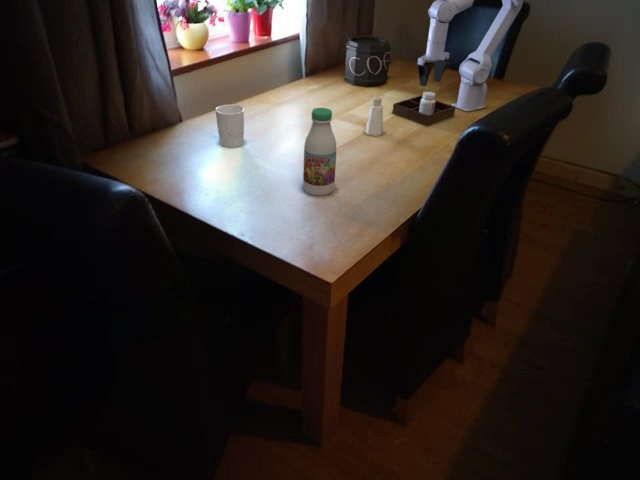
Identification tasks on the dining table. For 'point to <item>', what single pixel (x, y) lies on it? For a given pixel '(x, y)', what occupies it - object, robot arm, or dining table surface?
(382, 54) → the coffee canister
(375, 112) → the pepper shaker
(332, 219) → the dining table surface
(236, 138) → the white cup
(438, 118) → the tray
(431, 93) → the pill bottle
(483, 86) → the robot arm
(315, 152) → the milk bottle
